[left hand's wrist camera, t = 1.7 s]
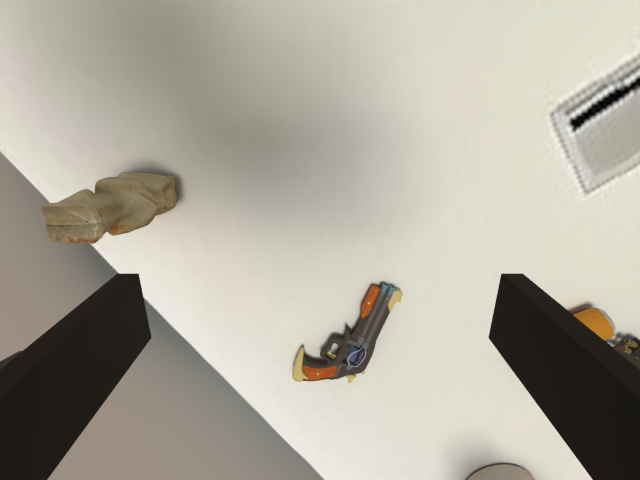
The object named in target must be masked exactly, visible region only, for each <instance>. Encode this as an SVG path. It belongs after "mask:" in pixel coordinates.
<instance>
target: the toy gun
mask: <svg viewBox="0 0 640 480" xmlns="http://www.w3.org/2000/svg"><path fill="white" fill-rule="evenodd" d="M401 297H402V292H401V290H399V289H396V287H394V286H393V285H388V284H386V283H383V284H381V285H380V287H379V286H377V285H371V287H370V289H369V291H368V293H367V295H366V297H365V299H364V301H363V303H362V305H361V318H360V321H359V323H358V325H357V327H356V328H355V330H354V331H353V332H352V333H351V331H350V329H349V327H348V326H346V333H345V337H343V338H342V337H339V336H332V337H331V338H330V340H329V342H328V344H327V345H326V346H325V348H324V349H323V350H322V351H321V352H320V356H321V357H323V358H325V359H326V360H327V361H313V360H311V359H309V358H308V357H306V355H305V354H304V348H301V349H300V351H299V353H298V355H297V358H296V361H295V364H294V368H293V374H292V376H293V379H294V380H295V381H298V382H301V381H302V380H303V381H318V380H324V379H331V380H333V379H339V378H341V377H344V376H346V377H348V378H349V379H348V383H350V382H351V381H352V380H353V379H354V378H356V375H355V374H358V373H363V374H364V371H365V369H366V367H367V365H368V363H369V361H370V359H371V356H372V354H373V351H374V348H375V343H376V340H377V337H378V335H379V333H380V331H381V329H382V327H383V325H384V323H385V321H386V319H387V317H388V315H389V313H390V312H391V310H392V308H393V306H394V304H395V302H396V301H398V302H400V301H401ZM333 343H336V344H338V345H339V347H340V348H339V351H338V353H337V355H334V354H332V353H331V349H330V348H331V346H332V344H333ZM349 344H351V346H349ZM361 345H362V346H361ZM348 346H349V347H348ZM363 347H364V348H365V354H364V356H363V358H362V360H361V361H360V362H359V363H358V364H354V363H356V362H358V361H359V360H360V359H361V357H362V355H363V353H364V352H363ZM329 349H330V350H329ZM348 349H349V353H348ZM328 350H329V351H328ZM327 351H328V354H329V355H330V354H331V355H333V356H334V357H333V356H331V355H330V356H331V357H332V358H331V357H328V356H327V355H326V353H327ZM346 352H347V360H344V356H345V354H346Z"/></svg>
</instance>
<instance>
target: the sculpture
mask: <svg viewBox="0 0 640 480" xmlns="http://www.w3.org/2000/svg"><path fill="white" fill-rule="evenodd" d="M175 185H176V183H175V178H174V177H173V176H169V175H167V176H163V175H158V174H154V173H142V172H124V173H121V174H120V175H119V176H118V177H109V178H104V179H101V180H99V181H97V182H96V185H95V194H94V193H93V192H92V191H91V190H88V189H85V190H81V191H79V192H77V193H75V194H74V195H72V196H70V197H68V198H66V199H64V200H62V201H60V202H58V203H49V204H46V205H43V206H41V207H40V211H41V215H42V216H43V217H44V219H45V222H46V232H47V236H48V238H49V239H50V240H51V241H53V242H58V243H82V242H89V243H91V244H93V243H96V242H97V241H98V240H99V239H101V238H102V236H103V235H104V234H105V233H106V232H108V233H109V234H111V235H120V234H124V233H128V232H131V231H133V230H136V229H139V228H142V227H144V226H147V225H148V224H149V223H150V222H151V221H152V220H153V219H154V217H155V215H159V214H162V213H165V212H167V211H169V210H171V209H173V208H174V207H175V206H176V203H177V194H176V193H175V188H174V187H175Z"/></svg>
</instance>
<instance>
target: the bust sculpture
mask: <svg viewBox="0 0 640 480" xmlns="http://www.w3.org/2000/svg"><path fill="white" fill-rule="evenodd" d="M468 480H534V478H533V477H532V475H531V474H530V473H529V472H528V471H527V470H525V469H523V468H521V467H518V466H515V465H508V464H501V465H493V466H489V467H486V468H484V469H481V470H479V471H477V472H476V473H474V474H473V475H472V476H471V477H470V478H469V479H468Z"/></svg>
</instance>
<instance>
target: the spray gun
mask: <svg viewBox="0 0 640 480" xmlns="http://www.w3.org/2000/svg"><path fill="white" fill-rule="evenodd" d="M574 316H575V317H576V318H577V319H579V320H580V321H581V322H582V323H584V324H585V325H586V326H587V327H588V328H590V329H591V330H592V331H593V332H595V333H596V334H597V335H598V336H599V337H601V338H602V339H603V340H605V339H608V338H611V337H613V336H614V335H615V325H614V323H613V321H612V320H611V318H610V317H609V316H608V315H607V313H606V312H605V311H603V310H601V309H598V308H594V307H592V308H589V309H586V310H584V311H581V312H579V313H576V314H574ZM624 342H625V345H620V346H614V347H613V348H614V349H615V350H622V351H624V352H626V353H628V354H629V355H631V356H633V357H635V358H637V359H639V360H640V340H638V339H636V338H634V339H633V340H631V339H625V340H624Z"/></svg>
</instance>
